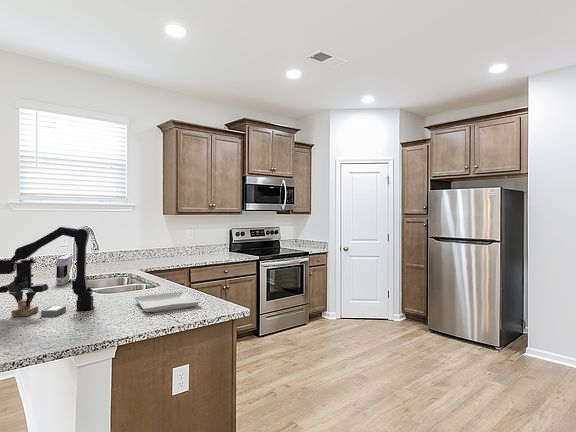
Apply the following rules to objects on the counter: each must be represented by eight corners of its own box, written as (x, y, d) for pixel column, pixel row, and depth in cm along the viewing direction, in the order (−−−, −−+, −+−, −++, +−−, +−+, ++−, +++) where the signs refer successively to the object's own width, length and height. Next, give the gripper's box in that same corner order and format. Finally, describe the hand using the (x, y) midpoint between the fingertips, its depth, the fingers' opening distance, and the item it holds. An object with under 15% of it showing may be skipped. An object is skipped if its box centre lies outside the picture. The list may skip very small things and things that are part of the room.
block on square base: (38, 311, 177) (38, 297, 177) (27, 316, 169) (27, 301, 169) (22, 311, 176) (22, 298, 176) (11, 316, 168) (11, 302, 168)
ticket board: (65, 311, 178) (65, 305, 178) (56, 316, 170) (56, 310, 170) (50, 311, 177) (50, 306, 177) (40, 316, 169) (40, 310, 169)
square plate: (143, 316, 172) (143, 307, 172) (132, 303, 195) (132, 296, 195) (199, 308, 186) (199, 300, 186) (183, 297, 209) (183, 290, 209)
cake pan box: (63, 285, 240) (63, 258, 239) (54, 285, 238) (54, 258, 238) (73, 279, 258) (73, 254, 258) (65, 280, 257) (65, 254, 257)
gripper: (-10, 276, 163) (-10, 311, 163) (34, 276, 165) (35, 311, 165) (7, 272, 174) (7, 305, 175) (48, 272, 176) (48, 304, 176)
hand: (24, 306), depth 172 cm, fingers closed on block on square base, 3 cm apart
